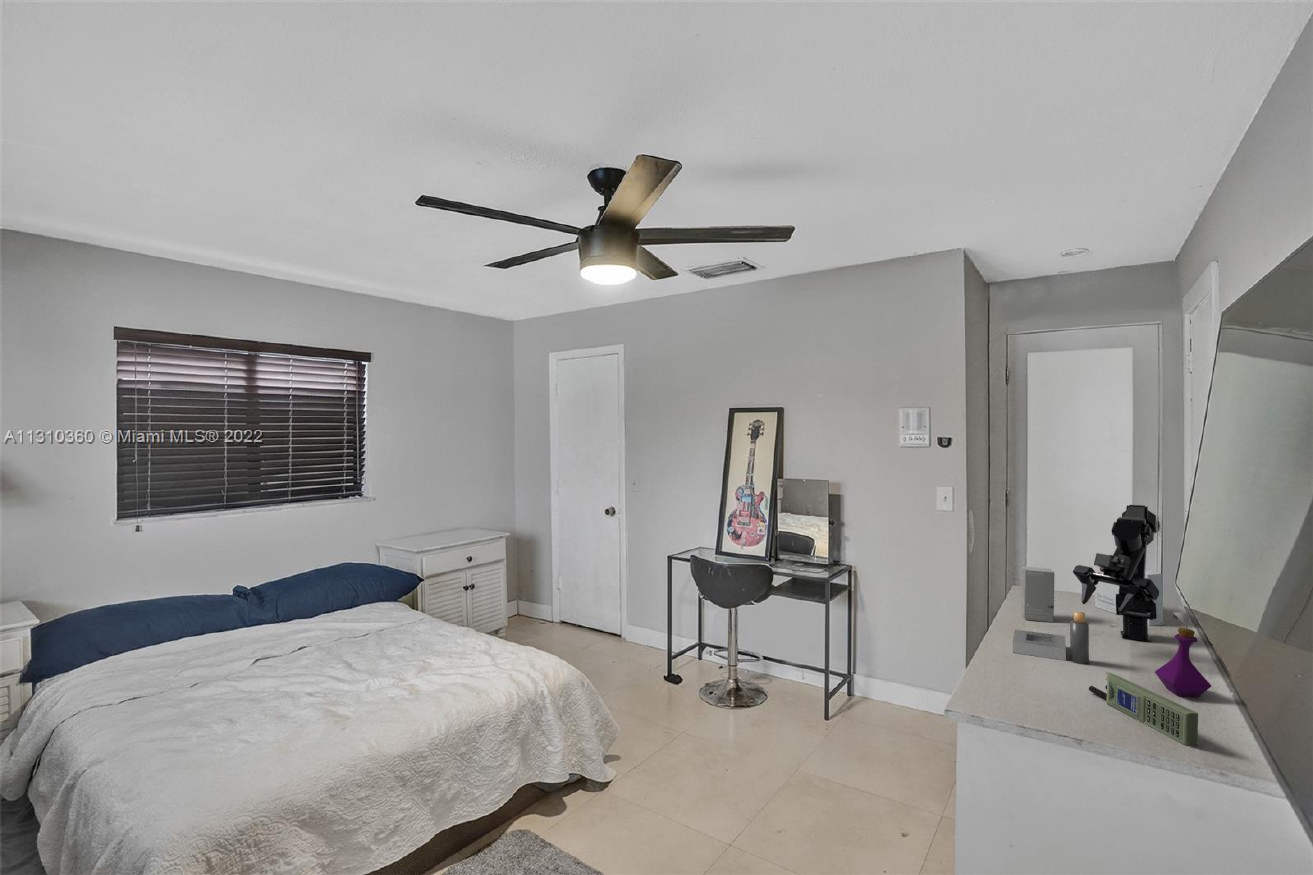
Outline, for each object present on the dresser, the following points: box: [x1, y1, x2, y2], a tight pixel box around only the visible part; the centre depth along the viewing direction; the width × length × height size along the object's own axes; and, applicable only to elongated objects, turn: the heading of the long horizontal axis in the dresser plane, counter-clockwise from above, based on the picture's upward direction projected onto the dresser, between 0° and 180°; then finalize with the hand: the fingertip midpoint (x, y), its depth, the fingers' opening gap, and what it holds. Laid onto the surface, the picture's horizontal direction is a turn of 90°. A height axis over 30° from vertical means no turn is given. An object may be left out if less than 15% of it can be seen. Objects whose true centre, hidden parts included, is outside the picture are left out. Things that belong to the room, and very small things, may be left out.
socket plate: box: [1012, 629, 1067, 661], centre depth 173 cm, size 12×12×3 cm
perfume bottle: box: [1154, 612, 1212, 698], centre depth 144 cm, size 8×8×18 cm
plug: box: [1069, 611, 1090, 665], centre depth 164 cm, size 4×4×12 cm
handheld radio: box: [1088, 672, 1199, 747], centre depth 133 cm, size 7×3×25 cm
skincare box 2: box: [1093, 560, 1164, 627], centre depth 204 cm, size 21×6×16 cm, turn 6°
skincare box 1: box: [1021, 566, 1055, 623], centre depth 202 cm, size 8×7×16 cm
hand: (1101, 608), depth 167 cm, fingers open, 9 cm apart
